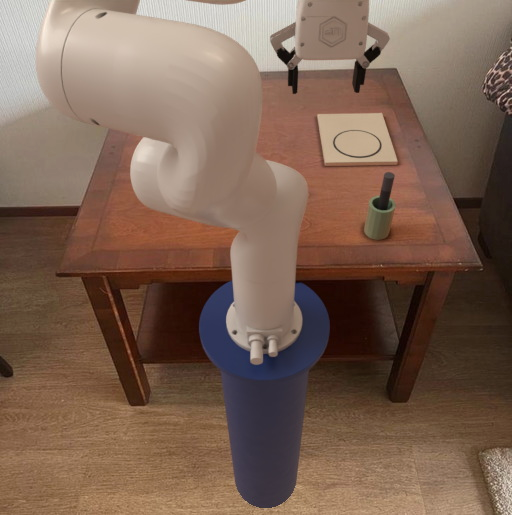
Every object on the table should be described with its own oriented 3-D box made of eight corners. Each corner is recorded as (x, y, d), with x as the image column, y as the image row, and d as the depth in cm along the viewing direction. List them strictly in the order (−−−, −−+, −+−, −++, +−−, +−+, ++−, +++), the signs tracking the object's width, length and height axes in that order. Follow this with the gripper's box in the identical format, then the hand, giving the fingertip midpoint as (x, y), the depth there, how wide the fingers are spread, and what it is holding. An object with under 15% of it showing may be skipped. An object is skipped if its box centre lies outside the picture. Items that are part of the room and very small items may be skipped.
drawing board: (397, 165, 112) (398, 160, 112) (324, 166, 113) (325, 161, 112) (381, 116, 126) (382, 112, 125) (317, 117, 126) (317, 113, 126)
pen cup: (391, 239, 97) (398, 212, 91) (365, 240, 97) (371, 212, 92) (386, 222, 100) (393, 195, 95) (362, 222, 100) (367, 195, 95)
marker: (383, 232, 97) (395, 178, 88) (373, 232, 97) (385, 178, 88) (381, 226, 98) (393, 171, 89) (372, 226, 98) (383, 171, 89)
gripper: (270, -19, 65) (270, 102, 77) (406, -22, 65) (384, 100, 77) (269, -39, 70) (269, 78, 82) (395, -41, 70) (376, 76, 82)
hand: (324, 89), depth 80 cm, fingers open, 9 cm apart
